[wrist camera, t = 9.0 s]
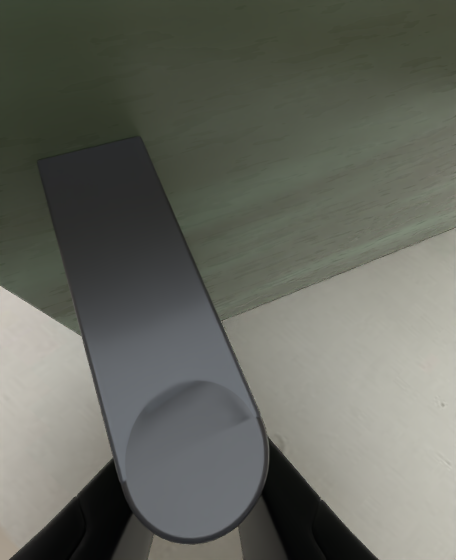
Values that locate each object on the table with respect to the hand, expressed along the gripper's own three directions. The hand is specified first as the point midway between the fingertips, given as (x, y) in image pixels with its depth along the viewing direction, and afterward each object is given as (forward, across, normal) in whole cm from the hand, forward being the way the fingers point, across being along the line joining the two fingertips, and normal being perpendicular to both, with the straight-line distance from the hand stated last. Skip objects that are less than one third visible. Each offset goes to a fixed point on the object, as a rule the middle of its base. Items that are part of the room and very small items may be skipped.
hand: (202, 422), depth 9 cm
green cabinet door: (+10, +8, -1) cm, 13 cm away
